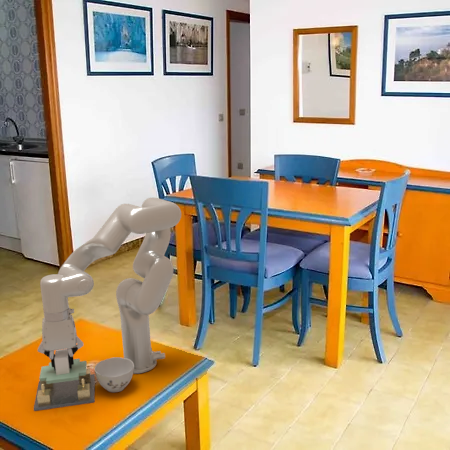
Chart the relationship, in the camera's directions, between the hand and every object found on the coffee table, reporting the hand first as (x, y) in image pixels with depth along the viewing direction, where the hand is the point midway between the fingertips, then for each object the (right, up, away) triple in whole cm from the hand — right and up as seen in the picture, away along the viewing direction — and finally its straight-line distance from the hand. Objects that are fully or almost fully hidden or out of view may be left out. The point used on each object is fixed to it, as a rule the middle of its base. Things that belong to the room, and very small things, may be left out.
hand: (63, 367), depth 179 cm
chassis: (0, -9, +2) cm, 9 cm away
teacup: (+16, -8, +6) cm, 19 cm away
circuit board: (0, -2, 0) cm, 2 cm away
